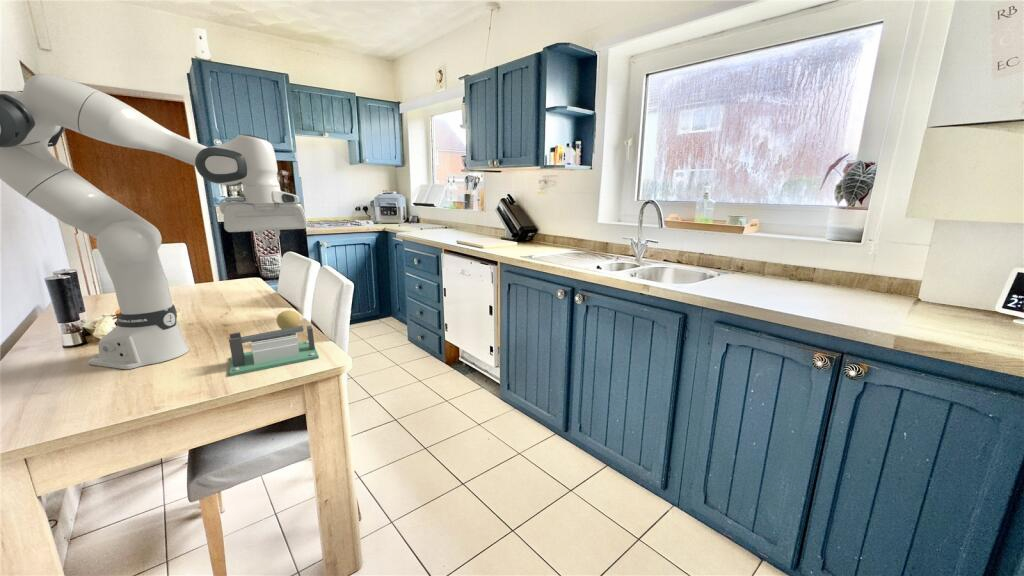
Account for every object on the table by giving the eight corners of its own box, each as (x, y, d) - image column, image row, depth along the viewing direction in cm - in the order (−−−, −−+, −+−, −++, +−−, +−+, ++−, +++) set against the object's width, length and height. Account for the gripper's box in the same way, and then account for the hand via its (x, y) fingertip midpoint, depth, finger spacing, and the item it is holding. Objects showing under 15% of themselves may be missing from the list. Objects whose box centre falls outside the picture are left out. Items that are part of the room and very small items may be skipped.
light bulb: (292, 345, 124) (288, 314, 122) (275, 343, 126) (270, 313, 123) (307, 338, 130) (303, 308, 128) (289, 336, 132) (285, 307, 129)
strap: (233, 345, 108) (233, 341, 107) (234, 341, 110) (233, 338, 110) (303, 331, 116) (303, 328, 116) (302, 328, 119) (302, 325, 119)
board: (230, 376, 104) (224, 345, 102) (231, 357, 115) (226, 329, 113) (318, 358, 115) (315, 330, 113) (312, 342, 126) (309, 317, 124)
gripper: (217, 197, 104) (226, 250, 107) (304, 196, 115) (310, 244, 118) (218, 197, 109) (227, 247, 113) (302, 196, 120) (307, 242, 123)
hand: (270, 246), depth 116 cm, fingers closed
